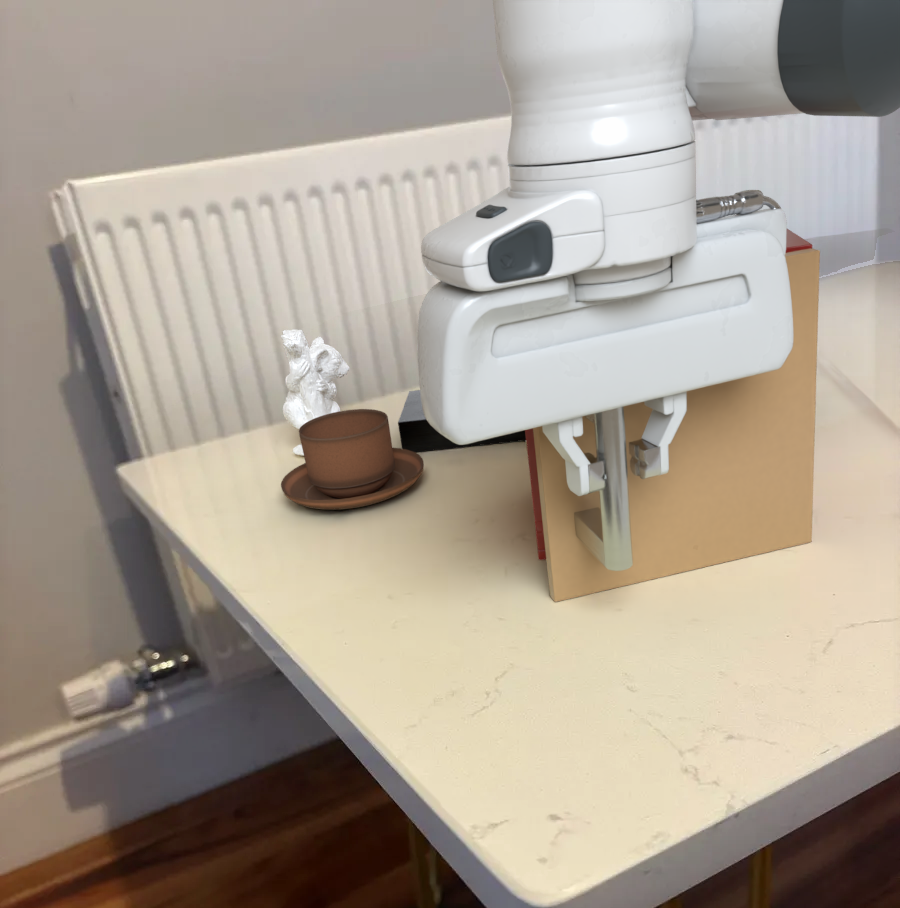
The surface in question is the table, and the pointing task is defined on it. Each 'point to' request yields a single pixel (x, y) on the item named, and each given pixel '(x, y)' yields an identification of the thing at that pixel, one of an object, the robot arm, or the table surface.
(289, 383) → the white sculpted figure
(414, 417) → the valve panel
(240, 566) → the table surface
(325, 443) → the cup and saucer
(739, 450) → the cabinet door
